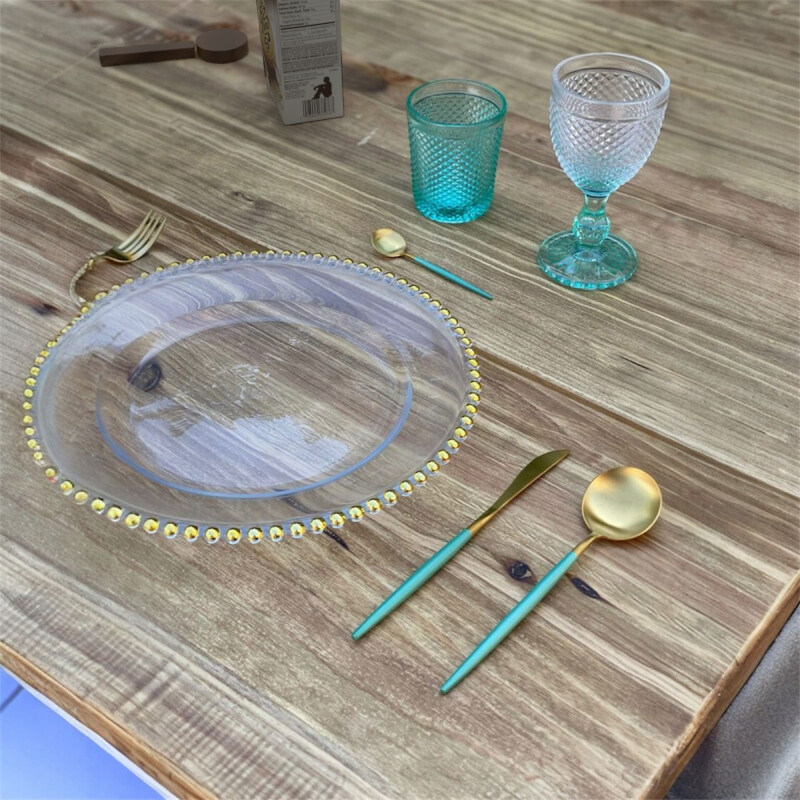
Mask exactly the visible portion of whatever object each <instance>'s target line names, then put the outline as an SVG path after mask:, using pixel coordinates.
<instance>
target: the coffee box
mask: <svg viewBox="0 0 800 800" xmlns="http://www.w3.org/2000/svg"><path fill="white" fill-rule="evenodd" d="M255 3H256V12H257V20H258V21H257V22H258V31H259V38H260V47H261V57H262V65H263V72H264V74H263V75H264V81H265V86H266V88H267V90H268V93H269V94H270V97H271V99H272V101H273V103H274V105H275V107H276V110H277V112H278V113H279V116H280V118H281V120H282V122H283V124H284V125H285V126H289V125H295V124H301V123H308V122H314V121H320V120H326V119H327V120H328V119H335V118H341V117H344V116H345V99H344V98H345V97H344V75H343V71H344V70H343V48H342V45H343V44H342V24H341V23H342V22H341V21H342V20H341V0H255Z"/></svg>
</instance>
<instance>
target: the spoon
mask: <svg viewBox="0 0 800 800" xmlns="http://www.w3.org/2000/svg"><path fill="white" fill-rule="evenodd" d="M249 52H250V48H249V39H248V35H247V34H246V32H244V31H241V30H238V29H235V28H215V29H210V30H207V31H204V32H202V33H200V34H199V35H198V36H197V37H196V38H195V41H194V40H183V41H172V42H161V43H149V44H138V45H127V46H116V47H115V46H114V47H103V48H99V49H98V59H99V63H100V66H101V67H110V66H120V65H131V64H142V63H143V64H144V63H153V62H165V61H166V62H167V61H176V60H185V59H186V60H187V59H195V58H196V57H198V58H199V59H200V60H202V61H204V62H206V63H210V64H211V63H212V64H229V63H234V62H238V61H240V60H242V59H244V58H245V57H246V56H248V54H249ZM196 54H197V55H196Z"/></svg>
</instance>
